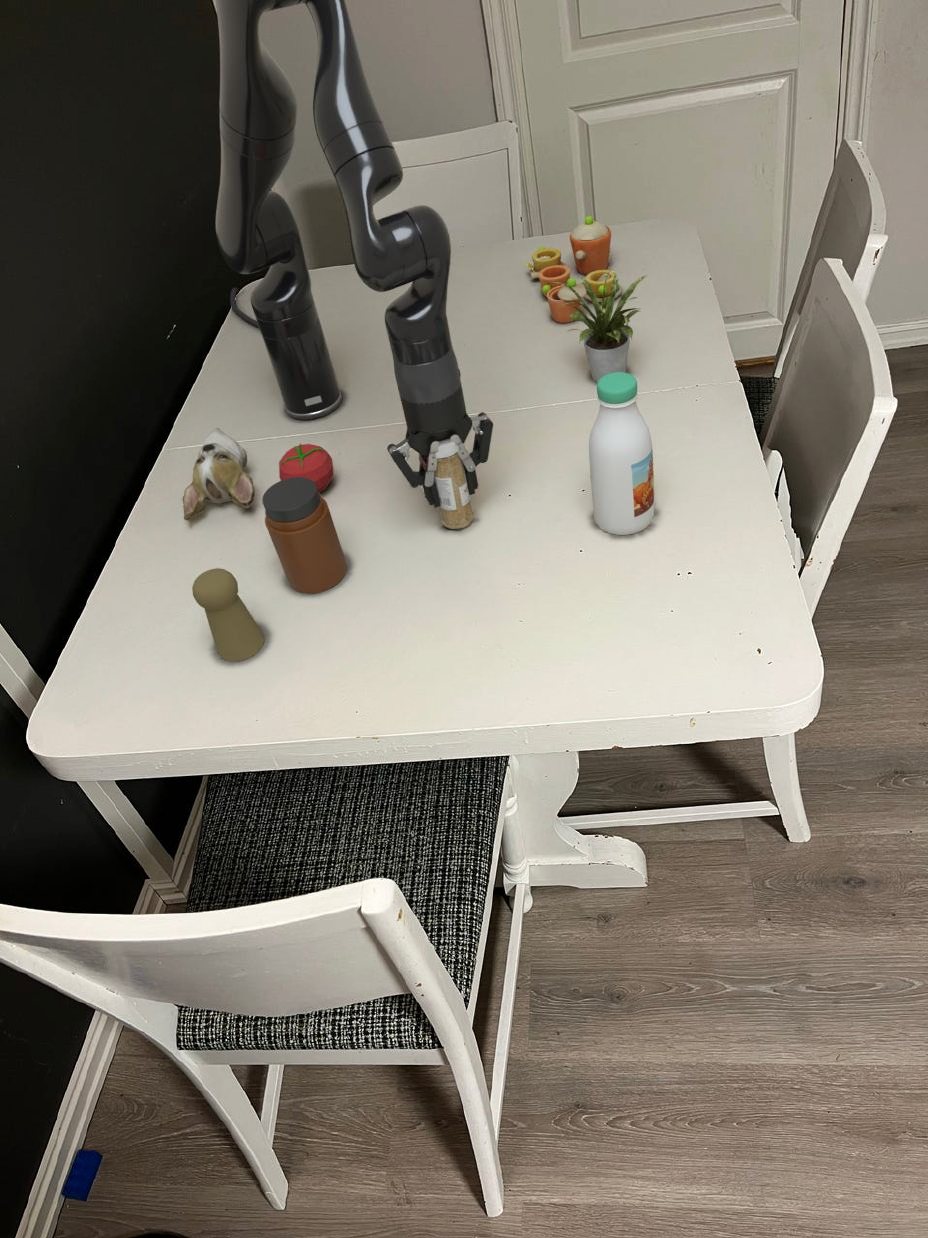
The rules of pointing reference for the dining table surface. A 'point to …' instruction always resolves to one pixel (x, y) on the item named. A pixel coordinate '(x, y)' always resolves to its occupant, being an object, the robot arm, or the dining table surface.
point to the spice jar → (452, 487)
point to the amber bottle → (304, 535)
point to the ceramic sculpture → (218, 475)
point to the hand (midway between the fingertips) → (452, 497)
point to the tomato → (307, 465)
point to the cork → (227, 616)
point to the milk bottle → (621, 459)
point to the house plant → (605, 330)
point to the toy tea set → (590, 260)
